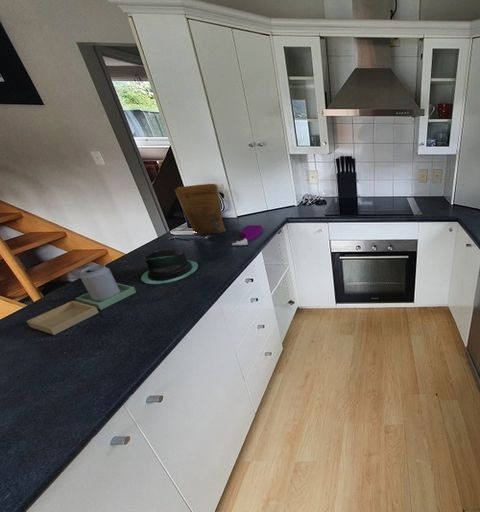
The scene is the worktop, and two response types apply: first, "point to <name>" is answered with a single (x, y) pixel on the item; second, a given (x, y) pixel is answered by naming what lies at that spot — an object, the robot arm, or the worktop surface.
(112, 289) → the can
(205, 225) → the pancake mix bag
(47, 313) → the near tray
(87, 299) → the far tray
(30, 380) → the worktop surface
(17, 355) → the worktop surface
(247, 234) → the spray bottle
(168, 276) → the black and teal hat
